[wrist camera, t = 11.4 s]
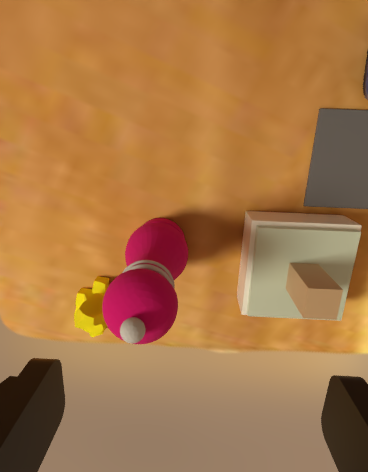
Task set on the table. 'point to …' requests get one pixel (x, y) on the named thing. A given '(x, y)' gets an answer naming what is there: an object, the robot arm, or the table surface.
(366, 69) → the flask
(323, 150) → the mat
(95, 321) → the yellow lumpy cluster
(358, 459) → the robot arm
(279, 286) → the lid
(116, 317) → the pepper mill
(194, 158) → the table surface
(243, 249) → the dish
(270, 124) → the table surface
